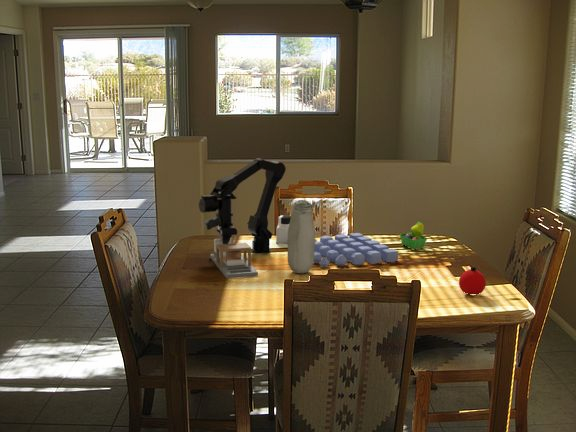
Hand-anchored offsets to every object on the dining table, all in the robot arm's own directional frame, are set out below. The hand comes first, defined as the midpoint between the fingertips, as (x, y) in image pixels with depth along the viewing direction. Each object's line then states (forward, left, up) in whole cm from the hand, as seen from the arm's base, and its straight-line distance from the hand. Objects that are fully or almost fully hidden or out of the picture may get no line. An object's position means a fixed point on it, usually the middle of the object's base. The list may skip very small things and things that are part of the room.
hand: (224, 247), depth 273 cm
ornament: (-71, +72, -4) cm, 101 cm away
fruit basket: (-84, +7, -4) cm, 84 cm away
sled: (0, +8, -2) cm, 8 cm away
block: (0, +16, -1) cm, 16 cm away
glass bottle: (-23, +30, -4) cm, 38 cm away
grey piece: (0, +16, -4) cm, 16 cm away
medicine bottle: (-32, -18, -4) cm, 37 cm away
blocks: (-48, +10, -5) cm, 49 cm away
